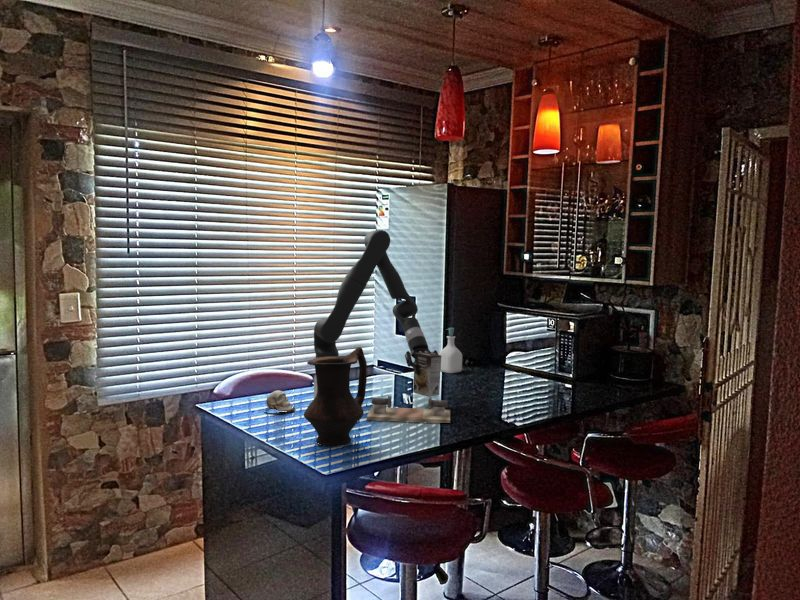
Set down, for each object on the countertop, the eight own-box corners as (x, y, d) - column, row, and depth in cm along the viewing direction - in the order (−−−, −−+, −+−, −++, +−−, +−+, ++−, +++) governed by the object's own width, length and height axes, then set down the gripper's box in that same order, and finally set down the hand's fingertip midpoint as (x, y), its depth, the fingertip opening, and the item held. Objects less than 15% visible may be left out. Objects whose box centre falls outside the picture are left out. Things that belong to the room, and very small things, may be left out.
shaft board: (366, 420, 223) (366, 399, 222) (371, 410, 237) (371, 390, 236) (450, 424, 220) (450, 402, 220) (450, 413, 234) (450, 393, 233)
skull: (303, 406, 237) (292, 390, 231) (289, 428, 231) (277, 413, 225) (280, 401, 243) (268, 385, 237) (265, 422, 237) (253, 407, 231)
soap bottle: (450, 369, 324) (451, 326, 322) (463, 372, 316) (464, 328, 315) (436, 371, 318) (438, 327, 316) (450, 374, 310) (451, 329, 309)
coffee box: (412, 392, 247) (414, 352, 246) (423, 390, 251) (425, 351, 250) (428, 397, 240) (430, 356, 239) (440, 395, 245) (441, 354, 243)
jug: (321, 456, 183) (322, 356, 180) (293, 440, 198) (294, 347, 195) (380, 444, 195) (382, 350, 193) (350, 430, 210) (351, 342, 208)
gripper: (403, 335, 248) (415, 369, 238) (435, 334, 254) (447, 367, 244) (397, 346, 253) (409, 380, 243) (428, 345, 259) (440, 378, 250)
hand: (428, 373), depth 244 cm, fingers closed on coffee box, 8 cm apart
